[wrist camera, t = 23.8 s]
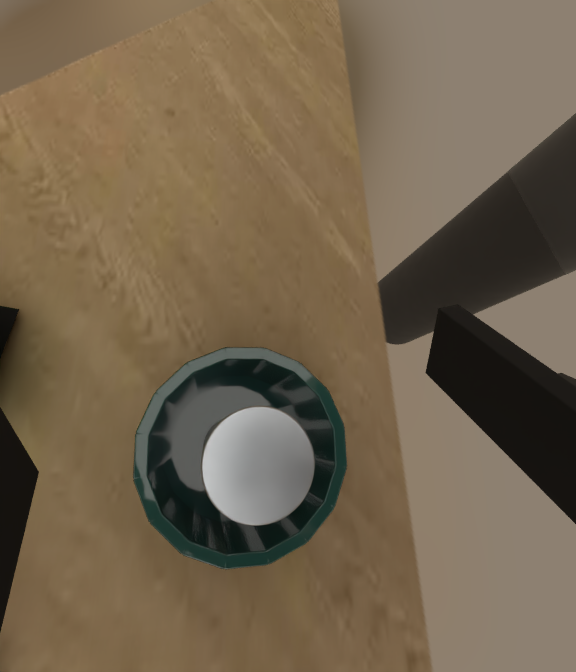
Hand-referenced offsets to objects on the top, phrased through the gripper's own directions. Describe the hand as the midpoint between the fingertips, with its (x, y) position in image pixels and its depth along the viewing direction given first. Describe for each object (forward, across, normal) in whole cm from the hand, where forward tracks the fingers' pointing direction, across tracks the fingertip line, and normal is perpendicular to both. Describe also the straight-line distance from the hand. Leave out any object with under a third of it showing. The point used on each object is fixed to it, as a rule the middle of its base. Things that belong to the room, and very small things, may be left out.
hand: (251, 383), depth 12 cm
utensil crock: (+8, 0, -11) cm, 14 cm away
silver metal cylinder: (+7, 0, -11) cm, 13 cm away
